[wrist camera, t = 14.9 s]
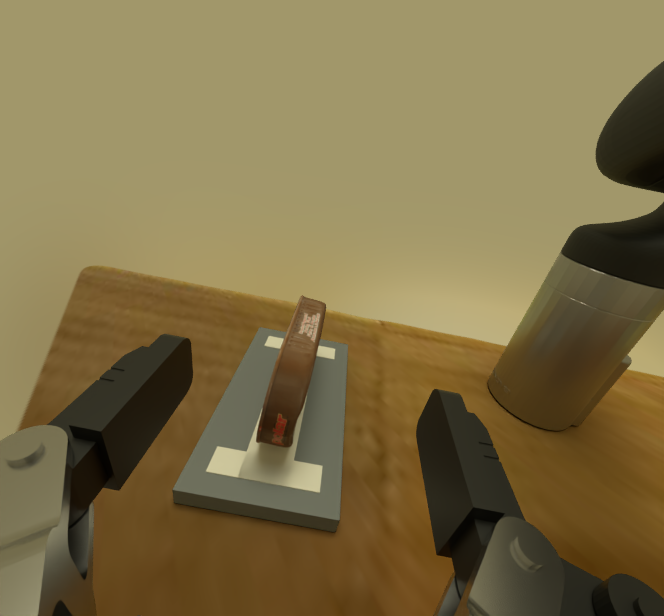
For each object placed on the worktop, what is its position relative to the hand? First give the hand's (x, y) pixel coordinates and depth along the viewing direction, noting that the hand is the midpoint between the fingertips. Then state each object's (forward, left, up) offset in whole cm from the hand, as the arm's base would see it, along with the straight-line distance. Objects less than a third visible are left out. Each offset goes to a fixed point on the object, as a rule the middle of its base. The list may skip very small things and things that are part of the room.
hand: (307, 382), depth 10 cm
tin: (+1, -13, -14) cm, 20 cm away
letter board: (+2, -13, -16) cm, 21 cm away
